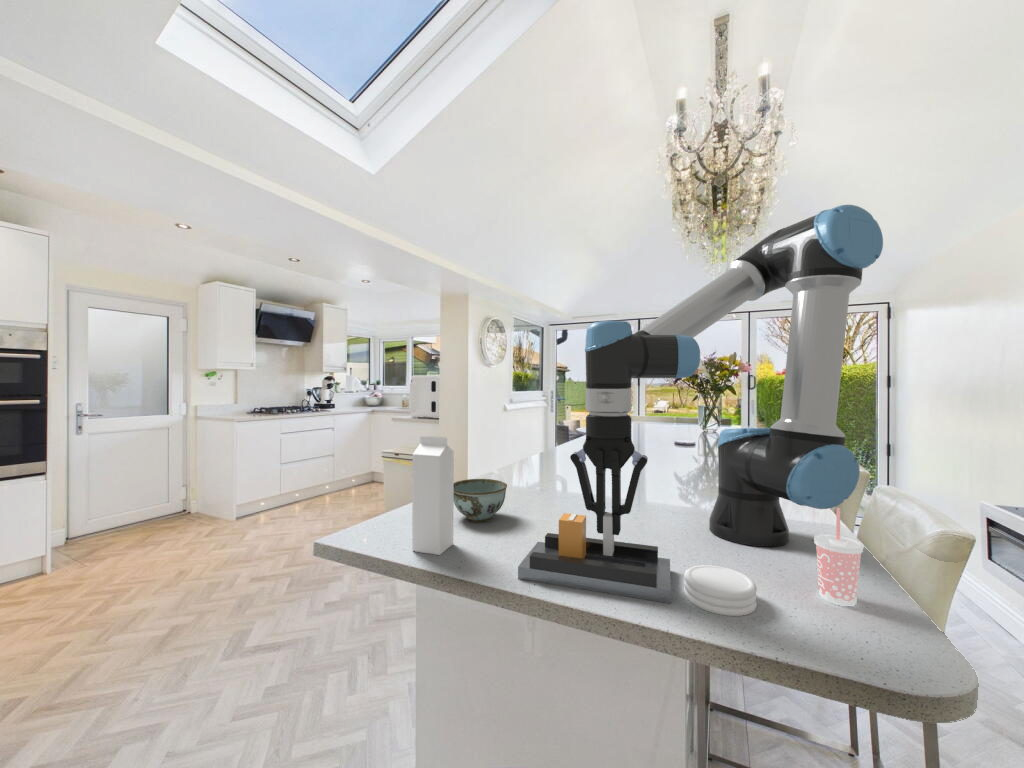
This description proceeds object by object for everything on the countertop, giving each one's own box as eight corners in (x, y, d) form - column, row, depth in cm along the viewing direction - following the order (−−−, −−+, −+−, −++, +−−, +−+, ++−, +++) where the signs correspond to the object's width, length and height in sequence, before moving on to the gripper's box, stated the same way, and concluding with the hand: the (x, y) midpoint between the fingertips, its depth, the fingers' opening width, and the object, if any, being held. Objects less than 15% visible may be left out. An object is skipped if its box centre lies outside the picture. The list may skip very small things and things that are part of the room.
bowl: (483, 506, 115) (483, 476, 115) (518, 518, 105) (518, 485, 105) (439, 517, 105) (439, 484, 105) (473, 532, 96) (473, 495, 95)
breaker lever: (585, 554, 78) (586, 514, 77) (581, 563, 74) (582, 521, 74) (563, 551, 79) (563, 512, 79) (558, 560, 75) (558, 519, 75)
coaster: (765, 601, 67) (765, 578, 67) (743, 626, 60) (743, 601, 60) (699, 579, 74) (699, 558, 74) (672, 600, 67) (672, 577, 67)
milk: (427, 540, 90) (427, 434, 90) (454, 544, 88) (454, 435, 88) (411, 551, 85) (411, 437, 84) (439, 555, 83) (440, 438, 83)
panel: (669, 570, 77) (670, 547, 77) (670, 603, 65) (670, 576, 65) (537, 551, 85) (537, 531, 85) (517, 578, 73) (518, 554, 73)
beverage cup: (808, 586, 71) (809, 500, 71) (855, 594, 68) (856, 504, 68) (818, 604, 65) (819, 511, 65) (869, 613, 63) (870, 516, 63)
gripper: (565, 414, 73) (566, 556, 73) (647, 416, 68) (648, 566, 69) (574, 411, 80) (575, 540, 80) (649, 412, 75) (649, 549, 76)
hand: (608, 552), depth 74 cm, fingers closed
